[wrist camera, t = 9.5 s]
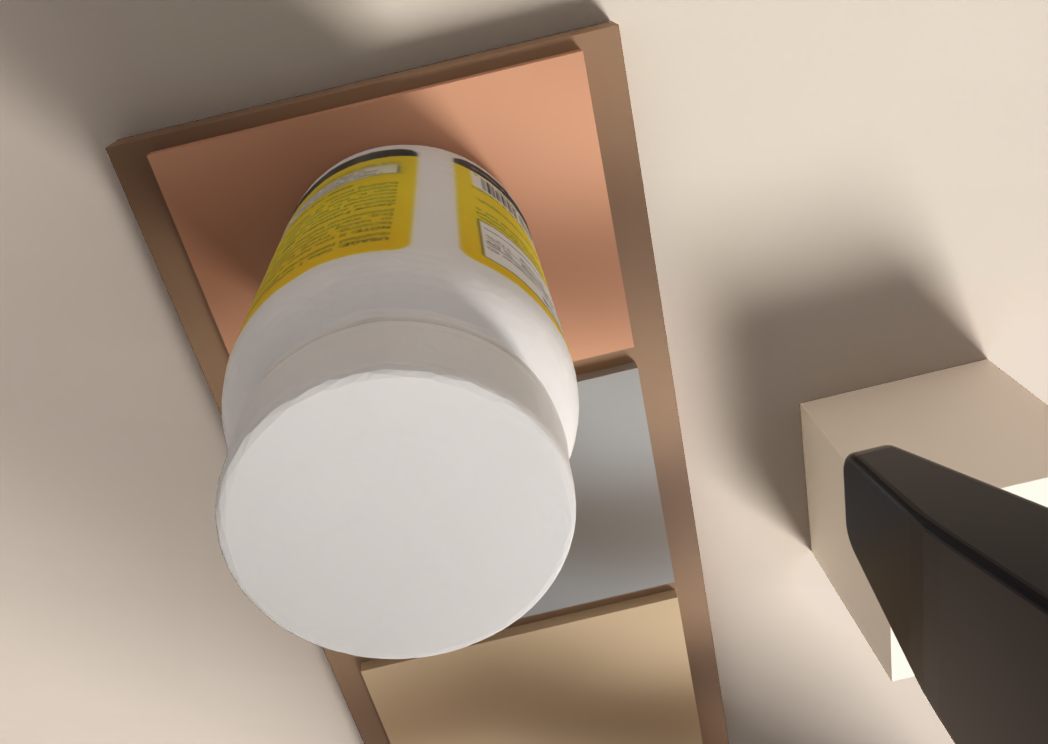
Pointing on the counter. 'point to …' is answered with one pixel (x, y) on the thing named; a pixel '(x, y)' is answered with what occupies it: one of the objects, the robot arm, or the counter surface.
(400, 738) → the game board
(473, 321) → the supplement bottle
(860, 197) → the counter surface
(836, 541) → the die
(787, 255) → the counter surface
